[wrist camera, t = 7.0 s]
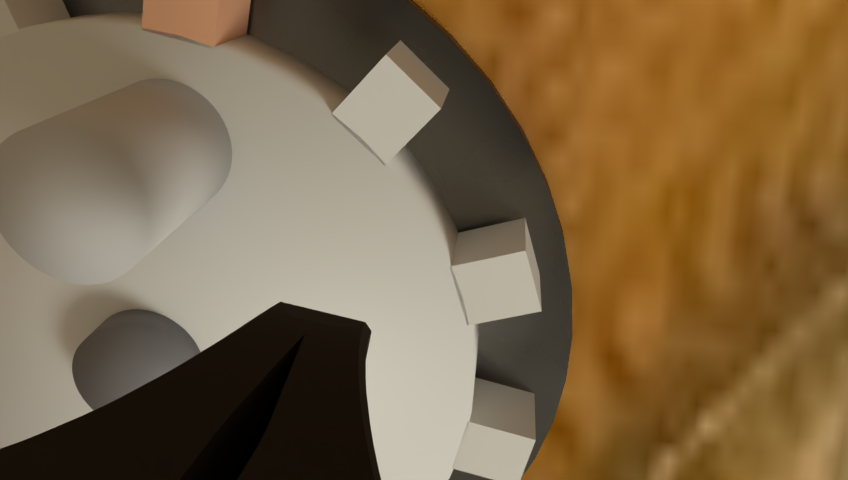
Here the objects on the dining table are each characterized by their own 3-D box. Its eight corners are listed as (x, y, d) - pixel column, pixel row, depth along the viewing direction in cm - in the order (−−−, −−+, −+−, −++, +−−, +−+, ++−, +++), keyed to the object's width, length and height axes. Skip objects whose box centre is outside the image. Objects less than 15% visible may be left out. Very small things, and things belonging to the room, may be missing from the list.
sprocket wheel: (439, 646, 25) (416, 851, 19) (-128, 488, 25) (-309, 645, 20) (658, 63, 16) (727, 134, 11) (-206, -166, 17) (-563, -210, 11)
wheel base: (51, 611, 28) (25, 649, 26) (-357, -15, 19) (-429, -10, 18) (636, 542, 23) (644, 584, 21) (429, -333, 14) (418, -363, 13)
